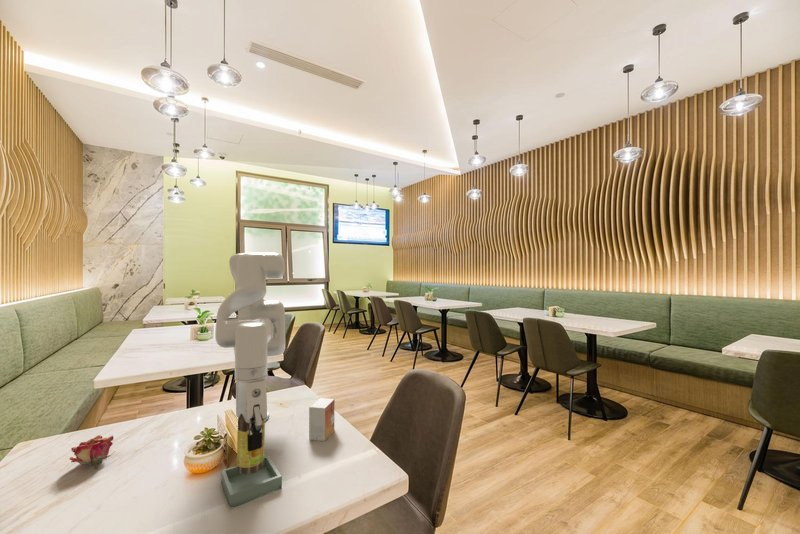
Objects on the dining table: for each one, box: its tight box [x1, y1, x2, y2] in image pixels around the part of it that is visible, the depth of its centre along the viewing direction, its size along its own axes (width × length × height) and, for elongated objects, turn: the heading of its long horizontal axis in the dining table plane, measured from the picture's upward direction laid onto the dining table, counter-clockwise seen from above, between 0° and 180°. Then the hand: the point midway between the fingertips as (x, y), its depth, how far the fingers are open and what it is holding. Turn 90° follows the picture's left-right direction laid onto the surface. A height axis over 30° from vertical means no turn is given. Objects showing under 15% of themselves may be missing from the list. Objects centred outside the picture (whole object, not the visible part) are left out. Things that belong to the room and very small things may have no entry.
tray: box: [220, 454, 283, 509], centre depth 84 cm, size 12×12×3 cm
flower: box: [69, 435, 115, 470], centre depth 92 cm, size 10×9×8 cm
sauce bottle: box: [236, 392, 266, 475], centre depth 84 cm, size 6×6×20 cm
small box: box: [308, 397, 335, 442], centre depth 110 cm, size 8×6×10 cm
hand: (251, 442), depth 84 cm, fingers closed on sauce bottle, 6 cm apart
